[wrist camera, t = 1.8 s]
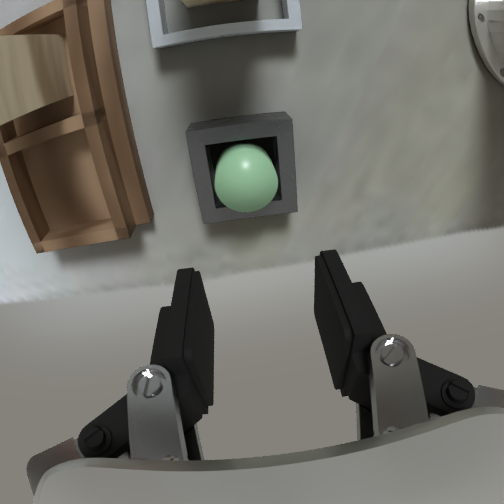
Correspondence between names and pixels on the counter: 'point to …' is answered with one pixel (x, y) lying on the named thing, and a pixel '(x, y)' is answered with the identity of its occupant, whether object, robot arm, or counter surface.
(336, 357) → the robot arm
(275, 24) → the grey square frame
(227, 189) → the button
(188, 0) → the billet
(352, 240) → the counter surface
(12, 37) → the block
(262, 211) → the switch box
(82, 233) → the brown wooden tray
